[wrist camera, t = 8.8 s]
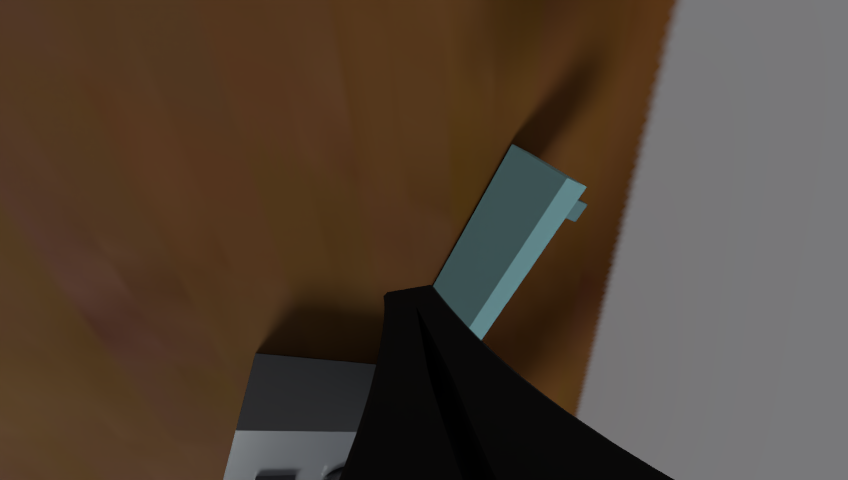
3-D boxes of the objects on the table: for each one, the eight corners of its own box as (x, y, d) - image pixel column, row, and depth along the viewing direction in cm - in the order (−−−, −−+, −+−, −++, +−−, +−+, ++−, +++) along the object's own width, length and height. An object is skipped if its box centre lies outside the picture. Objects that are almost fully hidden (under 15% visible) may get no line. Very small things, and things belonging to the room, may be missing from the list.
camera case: (368, 429, 25) (374, 507, 21) (236, 426, 22) (213, 520, 18) (400, 366, 23) (415, 443, 18) (255, 353, 19) (232, 443, 15)
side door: (412, 368, 23) (428, 439, 19) (386, 364, 22) (397, 438, 18) (539, 156, 17) (604, 195, 13) (508, 142, 16) (567, 178, 12)
